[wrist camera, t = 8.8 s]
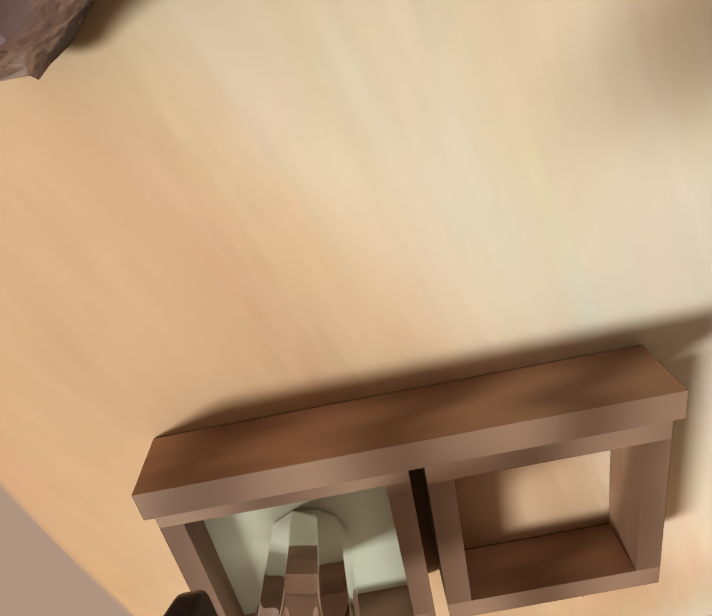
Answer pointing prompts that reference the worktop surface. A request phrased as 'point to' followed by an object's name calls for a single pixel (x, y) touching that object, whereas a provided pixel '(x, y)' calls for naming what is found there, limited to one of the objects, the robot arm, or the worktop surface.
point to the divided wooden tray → (427, 485)
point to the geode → (36, 33)
